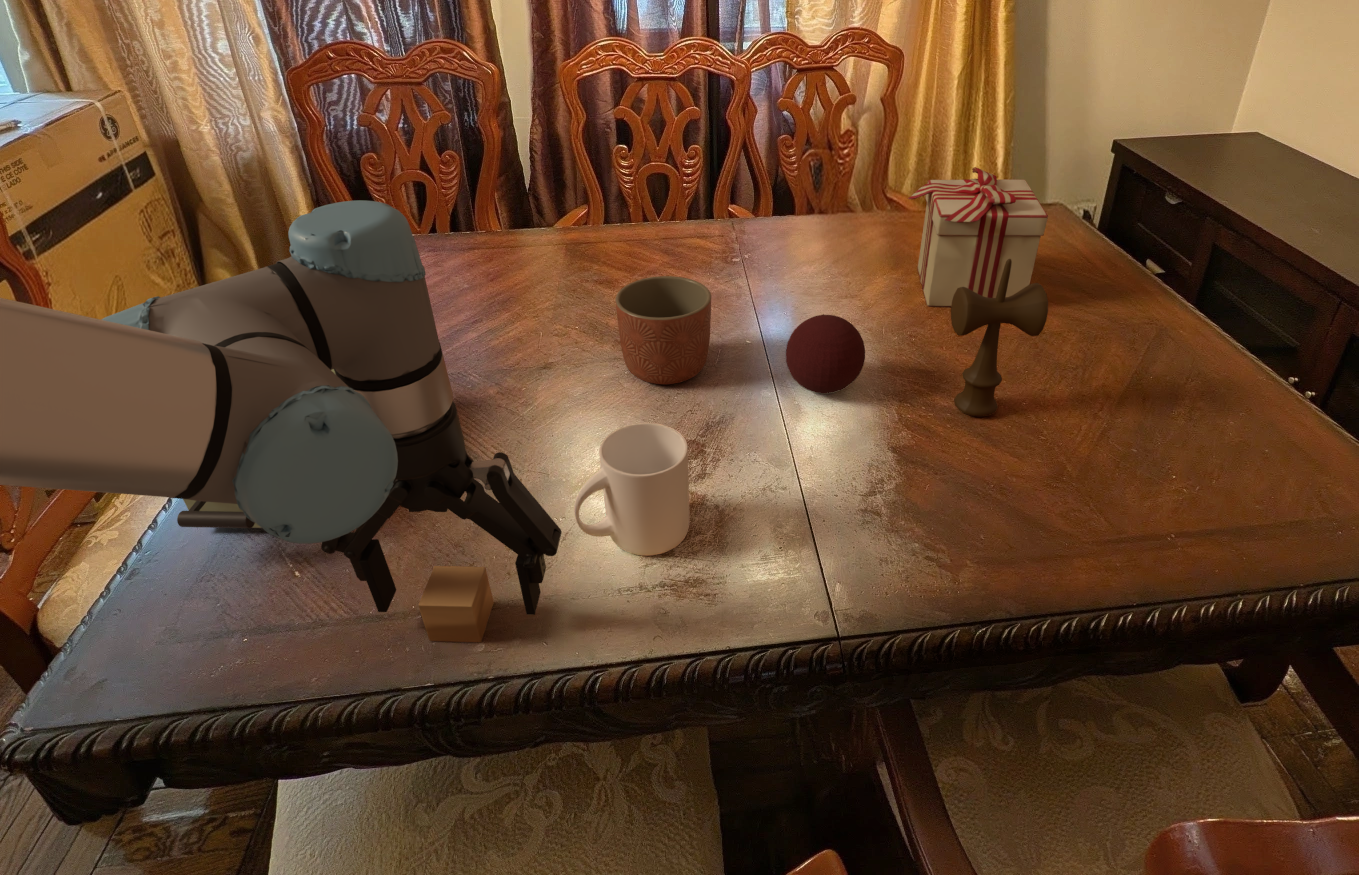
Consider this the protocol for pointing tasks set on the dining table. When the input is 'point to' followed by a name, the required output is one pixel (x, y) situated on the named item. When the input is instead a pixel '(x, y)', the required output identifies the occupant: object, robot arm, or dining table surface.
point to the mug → (641, 489)
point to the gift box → (977, 236)
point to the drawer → (213, 515)
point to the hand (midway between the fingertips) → (460, 602)
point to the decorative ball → (825, 354)
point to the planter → (664, 328)
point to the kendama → (993, 335)
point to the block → (456, 604)
